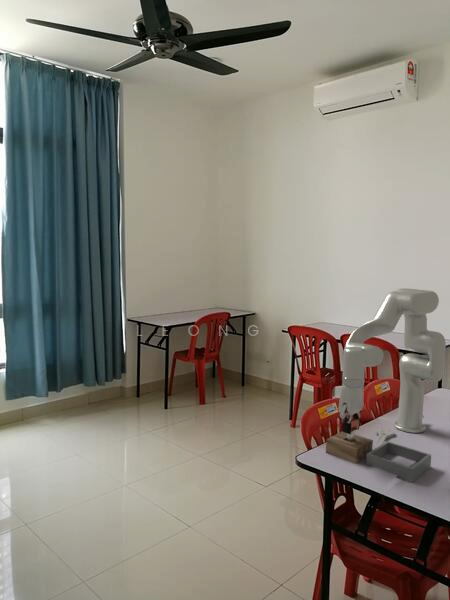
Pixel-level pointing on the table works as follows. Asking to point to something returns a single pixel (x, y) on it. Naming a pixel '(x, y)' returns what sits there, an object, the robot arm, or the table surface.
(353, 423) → the red knob with stem
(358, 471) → the table surface
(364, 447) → the eye block
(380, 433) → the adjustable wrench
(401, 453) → the tray
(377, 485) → the table surface
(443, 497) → the table surface
